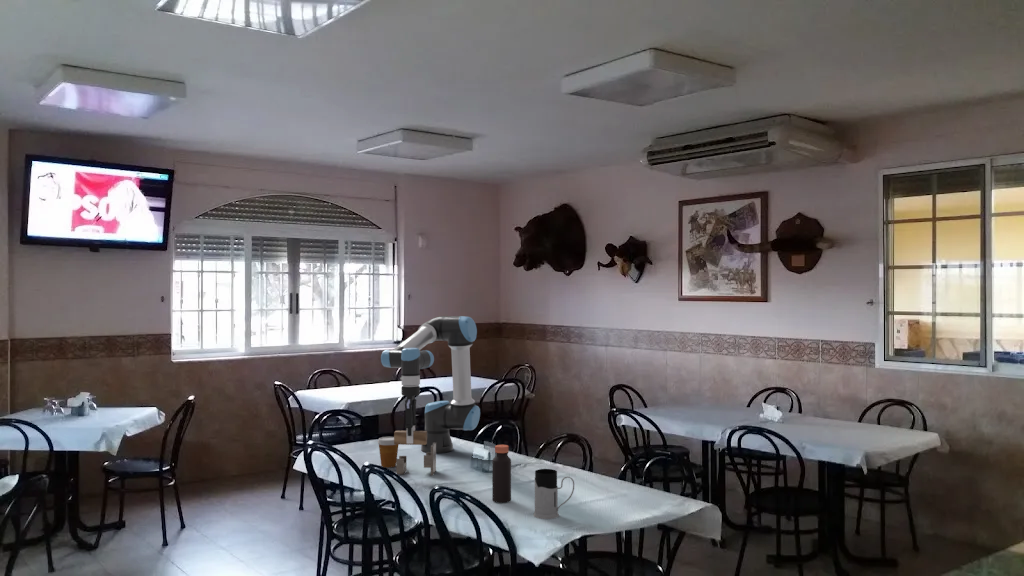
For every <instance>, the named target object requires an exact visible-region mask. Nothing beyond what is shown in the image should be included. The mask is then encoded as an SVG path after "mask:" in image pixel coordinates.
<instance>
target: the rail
mask: <svg viewBox="0 0 1024 576" xmlns="http://www.w3.org/2000/svg"><path fill="white" fill-rule="evenodd" d="M393 437H394V444H398V446H400V445H405V446H406V445H407V446H409V445H412V446H414V445H415V446H417V445H418V446H421V445H426V444H427V431H425V430H415V431H413V444H407V443H406V430H395V431H394V432H393Z"/></svg>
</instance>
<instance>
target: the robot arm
mask: <svg viewBox="0 0 1024 576" xmlns="http://www.w3.org/2000/svg"><path fill="white" fill-rule="evenodd" d="M477 334H478V328H477V324H476V322H475V321H474V319H473V318H472V317H471V316H464V315H452V316H451V315H441V316H437V317H434V318H431V319H429V320H427V321H425V322H424V323H423V324H421V325H419V327H418V329H417V331H415V332H414V333H413V334H411V335H410V336H409V337H407V339H405V340H404V341H403V342H401V343H399V345H397V346H395V347H394V348H393V349H385V350H383V351H382V352H381V355H380V362H381V365H382V366H383V367H384V368H390V369H391V368H393V369H394V368H395V369H397V368H398V369H401V377H400V378H399V379H400V380H401V395H402V397H403V396H404V397H406V400H404V401H405V402H404V412H405V415H404V416H405V419H404V420H405V426H404V429H405V431H406V443H407V444H413V431H416V426H417V425H418V423H417V399H416V397H418V396H419V395H421V391H420V390H421V387H420V385H421V371H420V370H423V369H428V368H430V367H431V366H433V364H434V361H435V357H434V354H433V353H432V351H430V350H427V349H425V350H424V349H423V348H425V347H426V346H427V345H428V344H432V343H434V342H437V341H443V342H447V346H448V347H449V348H450V352H451V353H450V354H451V369H452V370H451V371H452V373H451V374H452V375H451V376H452V394H453V395H452V396H453V399H452V400H451V401H449V400H438V401H433V402H428V403H427V404H426V405H425V408H424V431H427V444H426V445H420V446H421V447H420V448H421V449H420V450H421V452H423V453H426V452H431V445H432V444H433V443H436V454H442V453H448V452H452V451H454V446H453V445H454V444H453V441H452V438H451V435H450V430H458V431H461V430H462V431H473V430H475V429H476V428H477V426H478V424H479V421H480V419H481V418H480V417H481V408H480V407H479V406H478V405H476V400H475V399H474V398H472V375H471V355H470V354H471V353H470V351H471V350H470V348H471V347H472V346H473V345H474V343H473V342H475V340H477ZM422 349H423V350H422Z"/></svg>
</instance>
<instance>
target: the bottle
mask: <svg viewBox="0 0 1024 576" xmlns="http://www.w3.org/2000/svg"><path fill="white" fill-rule="evenodd" d="M494 452H495V456H494V458H492V465H491V466H492V481H491V482H492V492H491V493H492V497H491V498H492V501H493V502H494V503H496V504H505V503H510V502H511V500H512V459H511V458H510V457H509V455H508V454H509V445H508V444H497V445H495V446H494Z"/></svg>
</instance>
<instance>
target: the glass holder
mask: <svg viewBox="0 0 1024 576" xmlns="http://www.w3.org/2000/svg"><path fill="white" fill-rule="evenodd" d="M534 472H535V473H534V476H535V477H534V513H533V514H532V516H533V517H534V518H536V519H541V520H552V519H556V518H558V517H560V515H559V509H560V508H561V507H562V506H563V505H565V504H566V503H567V502H568V501H569V500H570V499H571V498H572V496H573V494H574V490H575V480H574V479H573V478H572V477H571V476H564V477H563V478H562V479H561V484H560V487H558V471H557V470H556V469H552V468H541V469H540V468H539V469H536V470H535V471H534ZM566 478H568V479H570V480H571V481H572V491H571V493H570V495H569V497H568V498H567V499H566V500H565V501H563V502H562V503H560V505H558V499H559V497H558V494H559V493H558V490H560V489H562V488H563V483H564V480H565V479H566Z"/></svg>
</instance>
